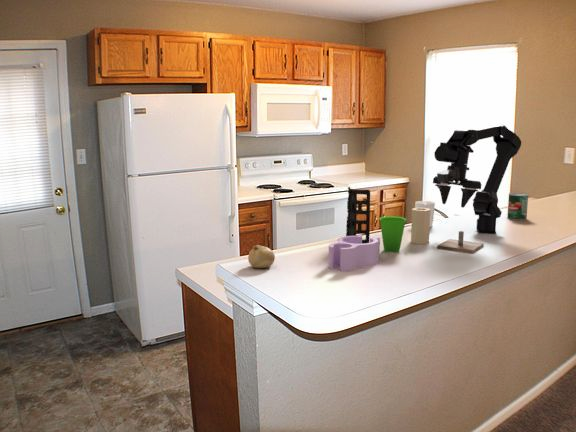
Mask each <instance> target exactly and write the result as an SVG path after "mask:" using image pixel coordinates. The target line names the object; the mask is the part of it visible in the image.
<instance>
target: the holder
mask: <svg viewBox="0 0 576 432" xmlns="http://www.w3.org/2000/svg"><path fill="white" fill-rule="evenodd" d="M347 193H348V197H347V201H346V202H347V203H346V204H347V205H346V207H347V208H346V209H347V210H346V212H347V217H346V229H345V230H346V231H345V232H346V233H345V236H357V235H365V239H362V244H365V243H370V231H371V230H370V228H371V226H370V225H371V190H370V189H354V188H351V187H350V186H348V187H347ZM358 195H365V196H366V199H365V200H358ZM363 205H366V209H365V210H363ZM357 215H365V216H366V217H365V220H364V219H363V220H360V219H357ZM362 225H365V229H362Z"/></svg>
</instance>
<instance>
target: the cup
mask: <svg viewBox="0 0 576 432" xmlns="http://www.w3.org/2000/svg"><path fill="white" fill-rule="evenodd" d="M378 219H379V220H378V221H380V230H381V239H382V245H383V250H384V252H386V253H393V254H394V253H399V252H400V250H401V245H402V242H403V241H402V240H403V235H404V229H405V226H406V225H405V224H406V221H407V218H405V217H401V216H394V215H393V216H392V215H391V216H389V215H388V216H381V217H379V218H378Z"/></svg>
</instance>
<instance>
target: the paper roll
mask: <svg viewBox="0 0 576 432" xmlns="http://www.w3.org/2000/svg"><path fill="white" fill-rule="evenodd" d="M430 228H431V227H430V209H428V208H415V207H413V208H412V209H411V227H410V229H411V234H410V235H411V236H410V243H413V244H415V245H417V244H419V245H426V244H429V243H430Z"/></svg>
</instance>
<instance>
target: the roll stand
mask: <svg viewBox="0 0 576 432" xmlns="http://www.w3.org/2000/svg"><path fill="white" fill-rule="evenodd" d="M464 232H465V231H461V230H458V239H453V238H449V239H447V240H445V241H443V242H441V243H440V244H437V246H436V248H437V249H440V250H447V251H454V252H461V253H468V254H474V253H476V252H477V251H479V250H480V249H481V248H483V247H484V245H485V244H484V242H477V241H467V240H464Z"/></svg>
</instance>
